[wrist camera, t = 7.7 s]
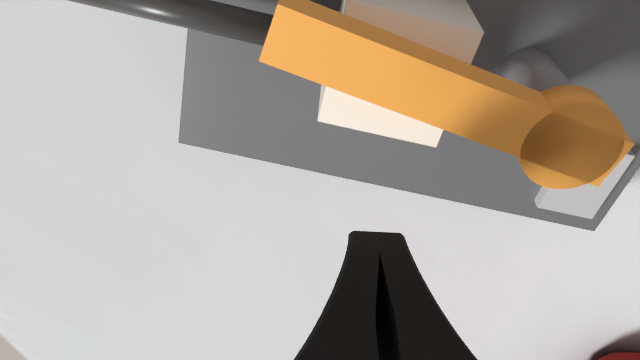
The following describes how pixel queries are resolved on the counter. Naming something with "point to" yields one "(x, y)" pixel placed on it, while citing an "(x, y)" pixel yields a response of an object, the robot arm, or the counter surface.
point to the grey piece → (452, 150)
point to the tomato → (621, 356)
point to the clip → (451, 94)
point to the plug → (360, 3)
